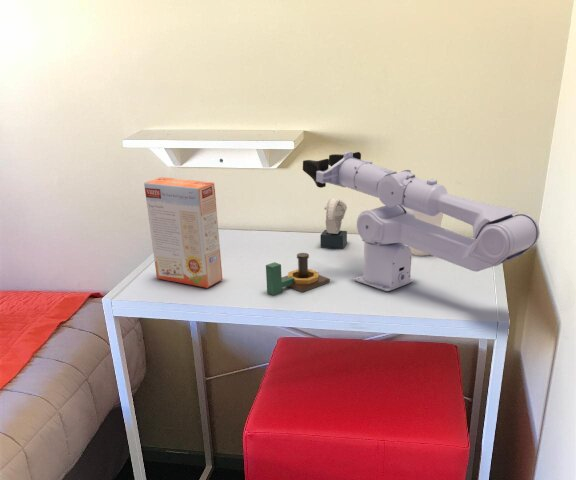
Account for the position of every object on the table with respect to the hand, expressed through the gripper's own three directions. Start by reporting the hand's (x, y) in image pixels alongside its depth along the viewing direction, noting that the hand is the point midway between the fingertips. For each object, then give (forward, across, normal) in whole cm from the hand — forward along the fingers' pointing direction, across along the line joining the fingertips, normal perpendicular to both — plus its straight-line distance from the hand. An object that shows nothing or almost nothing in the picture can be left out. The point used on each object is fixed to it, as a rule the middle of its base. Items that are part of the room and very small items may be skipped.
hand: (317, 162), depth 142 cm
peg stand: (-10, +12, +21) cm, 26 cm away
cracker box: (+9, +28, +23) cm, 37 cm away
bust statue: (+3, -10, +22) cm, 25 cm away
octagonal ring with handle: (-10, +15, +21) cm, 28 cm away
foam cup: (-15, -21, +21) cm, 33 cm away
